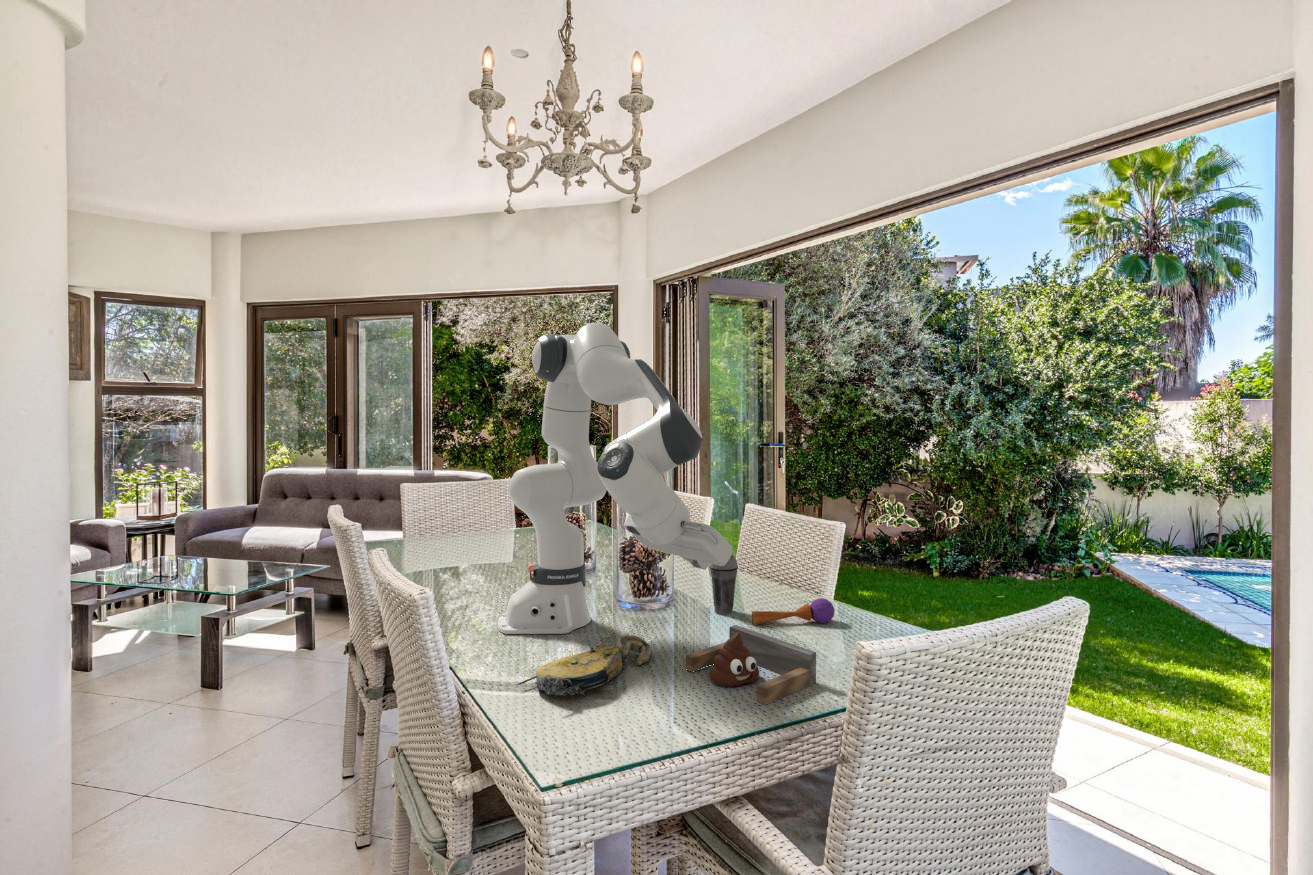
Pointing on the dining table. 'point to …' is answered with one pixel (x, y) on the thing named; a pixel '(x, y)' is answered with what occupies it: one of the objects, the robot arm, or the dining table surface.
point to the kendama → (799, 613)
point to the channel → (767, 663)
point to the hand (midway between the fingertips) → (702, 565)
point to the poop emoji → (734, 664)
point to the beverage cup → (724, 586)
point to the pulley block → (589, 667)
